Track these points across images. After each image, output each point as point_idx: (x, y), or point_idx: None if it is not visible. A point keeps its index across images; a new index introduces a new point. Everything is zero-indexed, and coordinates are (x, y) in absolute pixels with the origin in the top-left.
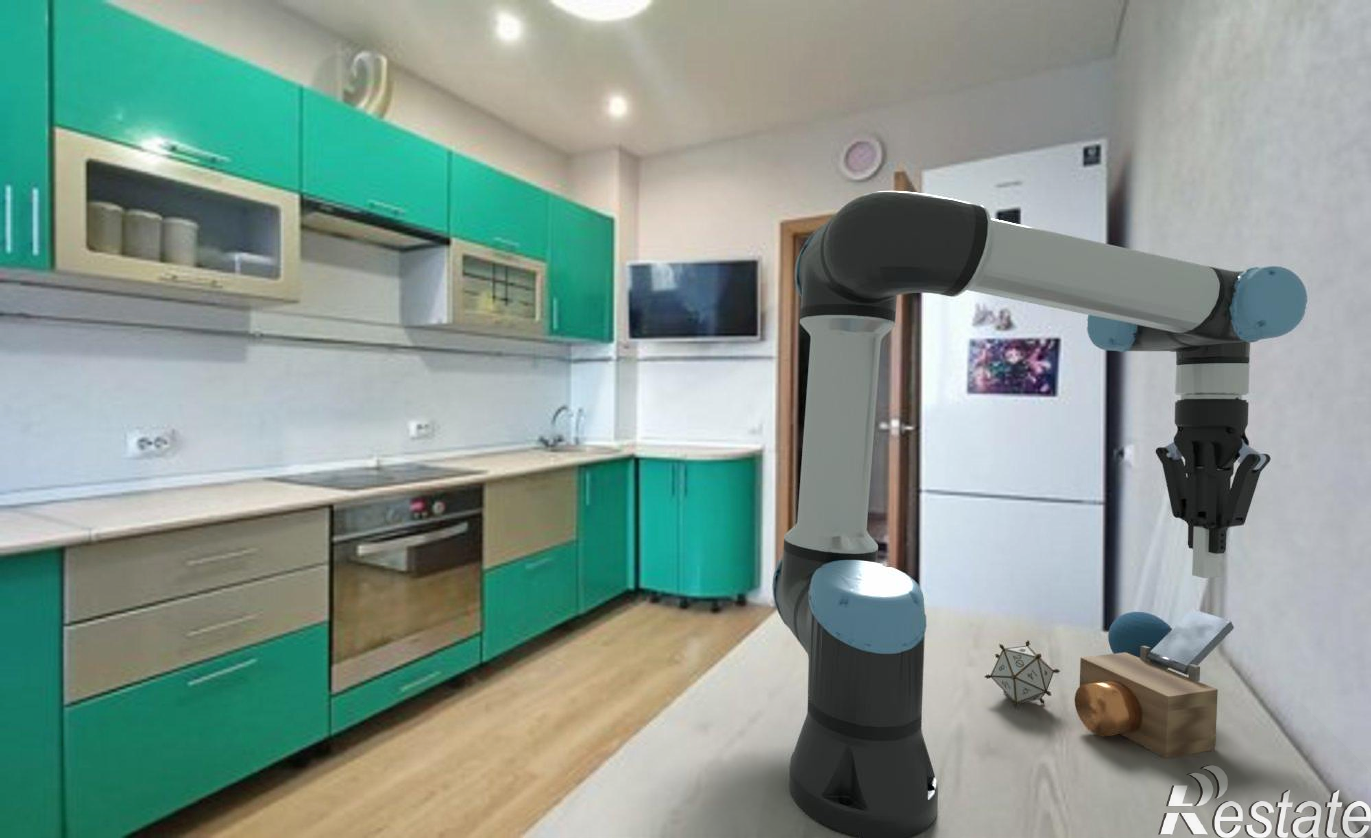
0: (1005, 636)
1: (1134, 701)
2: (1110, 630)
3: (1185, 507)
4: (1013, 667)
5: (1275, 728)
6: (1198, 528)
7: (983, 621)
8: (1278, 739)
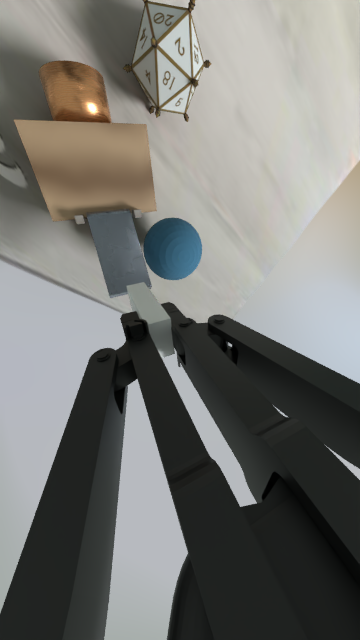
0: (267, 218)
1: (58, 119)
2: (190, 224)
3: (228, 352)
4: (158, 8)
5: (102, 299)
6: (159, 320)
7: (292, 224)
8: (84, 287)
